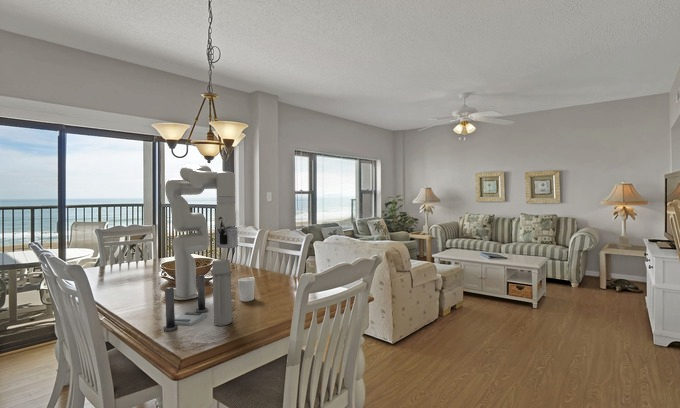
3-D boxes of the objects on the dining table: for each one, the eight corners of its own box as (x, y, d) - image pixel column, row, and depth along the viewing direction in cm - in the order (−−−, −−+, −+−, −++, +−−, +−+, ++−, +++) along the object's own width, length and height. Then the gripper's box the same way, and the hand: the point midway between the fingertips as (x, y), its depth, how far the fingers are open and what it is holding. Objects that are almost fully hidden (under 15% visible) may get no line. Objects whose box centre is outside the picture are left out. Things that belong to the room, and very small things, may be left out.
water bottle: (215, 320, 147) (213, 259, 146) (234, 319, 147) (233, 259, 147) (209, 329, 138) (207, 264, 137) (230, 328, 138) (228, 263, 138)
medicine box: (238, 247, 154) (237, 227, 154) (232, 248, 150) (231, 228, 150) (222, 246, 157) (222, 226, 156) (216, 247, 152) (215, 227, 152)
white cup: (250, 302, 171) (250, 281, 170) (235, 301, 172) (235, 280, 172) (257, 297, 178) (257, 277, 178) (243, 296, 180) (242, 277, 180)
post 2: (193, 312, 157) (192, 276, 156) (200, 309, 162) (199, 274, 161) (203, 313, 156) (202, 276, 155) (210, 309, 161) (209, 274, 160)
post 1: (160, 331, 136) (159, 289, 136) (169, 326, 141) (167, 286, 140) (172, 332, 135) (170, 290, 135) (180, 327, 140) (179, 286, 140)
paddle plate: (166, 323, 144) (166, 320, 144) (183, 314, 155) (183, 311, 155) (191, 325, 142) (191, 321, 142) (206, 315, 153) (206, 312, 153)
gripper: (227, 200, 162) (228, 240, 162) (207, 201, 145) (208, 246, 146) (243, 200, 160) (243, 240, 161) (224, 201, 144) (225, 246, 144)
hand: (226, 242), depth 153 cm, fingers closed on medicine box, 4 cm apart
